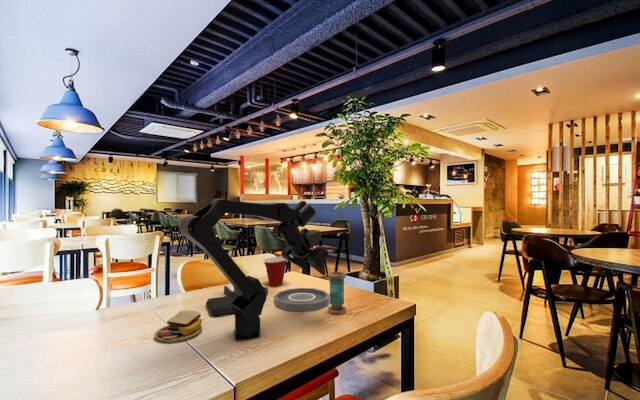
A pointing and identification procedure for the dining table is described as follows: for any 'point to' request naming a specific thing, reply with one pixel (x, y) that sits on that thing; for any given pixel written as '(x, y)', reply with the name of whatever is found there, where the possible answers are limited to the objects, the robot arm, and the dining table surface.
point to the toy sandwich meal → (180, 327)
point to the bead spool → (336, 293)
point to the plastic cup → (275, 270)
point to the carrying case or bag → (220, 306)
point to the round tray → (301, 299)
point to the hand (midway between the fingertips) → (315, 272)
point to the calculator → (230, 291)
